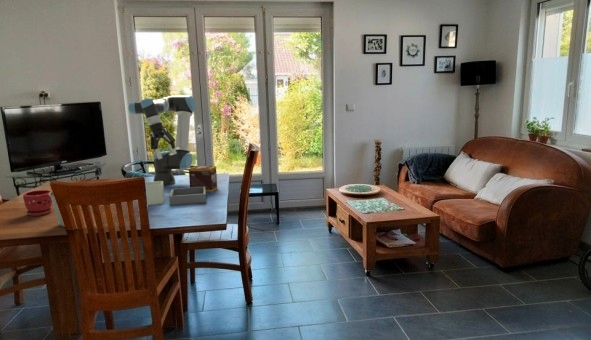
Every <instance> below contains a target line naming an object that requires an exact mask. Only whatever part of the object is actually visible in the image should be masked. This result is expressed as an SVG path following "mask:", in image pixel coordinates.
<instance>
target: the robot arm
mask: <svg viewBox="0 0 591 340" xmlns="http://www.w3.org/2000/svg"><path fill="white" fill-rule="evenodd" d="M196 110H197V103H196V99H195V98H194V97H193V96H192V95H169V96H165V97H160V98H158V99H154V98H152V97H148V98H144V99H142V100H140V101H131V102H129V104H128V111H129V114H132V115H144V116H145V119H146V122H147V124H148V125H149V129H150V132H152V133H149V137H150V149H151V150H153V151H154V154H153V165H154V177H153V180H152V182H155V181H163V186H170V185H174V184H175V183H176V178H175V176H174V173H173V171H172V170H189V168H191V167H192V165H193V155H192V153H191V151H190V149H189V138H190V137H189V136H190V123H191V116H193V113H195V112H196ZM165 112H173V113H175V114H176V115H177V122H176V123H177V124H176V135H175V138H174V137H173V136H172V134H171V133H170V131H169V130H168V128H167V127H166V128H164V125H163V123H162V120H161V117H160V115H161V114H164V113H165ZM159 114H160V115H159ZM160 139H164V141H166V142H167V143H168V144H169V148H170V150H166V151H160V148H159V141H160Z"/></svg>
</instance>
